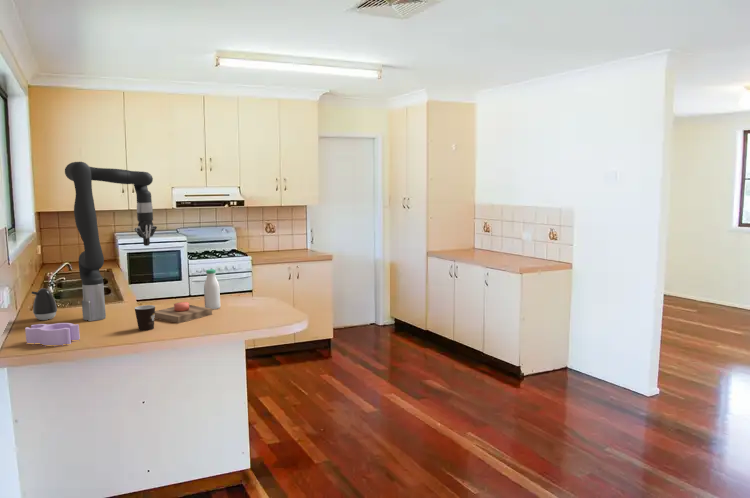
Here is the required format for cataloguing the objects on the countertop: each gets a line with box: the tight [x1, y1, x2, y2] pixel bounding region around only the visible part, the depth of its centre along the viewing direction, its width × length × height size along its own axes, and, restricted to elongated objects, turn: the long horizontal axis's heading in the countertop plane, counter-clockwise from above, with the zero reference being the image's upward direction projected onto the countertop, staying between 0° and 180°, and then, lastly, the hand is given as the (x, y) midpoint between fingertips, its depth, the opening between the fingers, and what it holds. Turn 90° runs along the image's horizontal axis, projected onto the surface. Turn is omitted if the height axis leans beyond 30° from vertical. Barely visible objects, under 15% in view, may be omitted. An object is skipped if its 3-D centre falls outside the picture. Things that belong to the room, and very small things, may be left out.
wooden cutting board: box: [154, 304, 213, 324], centre depth 297 cm, size 20×20×3 cm
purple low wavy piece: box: [24, 322, 81, 346], centre depth 254 cm, size 20×12×7 cm, turn 85°
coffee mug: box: [134, 304, 156, 332], centre depth 274 cm, size 12×9×10 cm
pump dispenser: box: [31, 287, 58, 321], centre depth 295 cm, size 10×10×15 cm
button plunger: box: [173, 301, 190, 311], centre depth 297 cm, size 7×7×3 cm
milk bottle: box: [203, 268, 221, 310], centre depth 313 cm, size 8×8×20 cm
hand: (146, 245), depth 311 cm, fingers closed
